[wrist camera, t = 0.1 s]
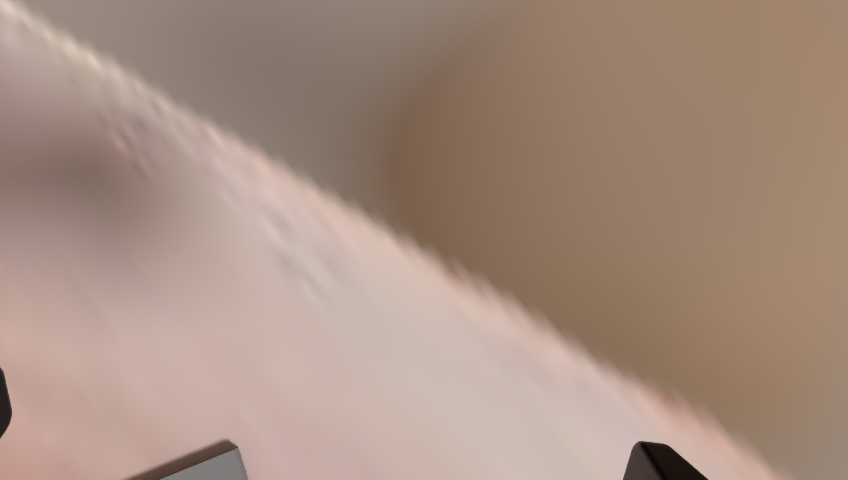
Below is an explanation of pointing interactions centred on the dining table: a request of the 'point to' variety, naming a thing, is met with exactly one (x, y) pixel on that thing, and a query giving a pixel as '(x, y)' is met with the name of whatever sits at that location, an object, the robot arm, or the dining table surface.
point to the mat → (214, 469)
